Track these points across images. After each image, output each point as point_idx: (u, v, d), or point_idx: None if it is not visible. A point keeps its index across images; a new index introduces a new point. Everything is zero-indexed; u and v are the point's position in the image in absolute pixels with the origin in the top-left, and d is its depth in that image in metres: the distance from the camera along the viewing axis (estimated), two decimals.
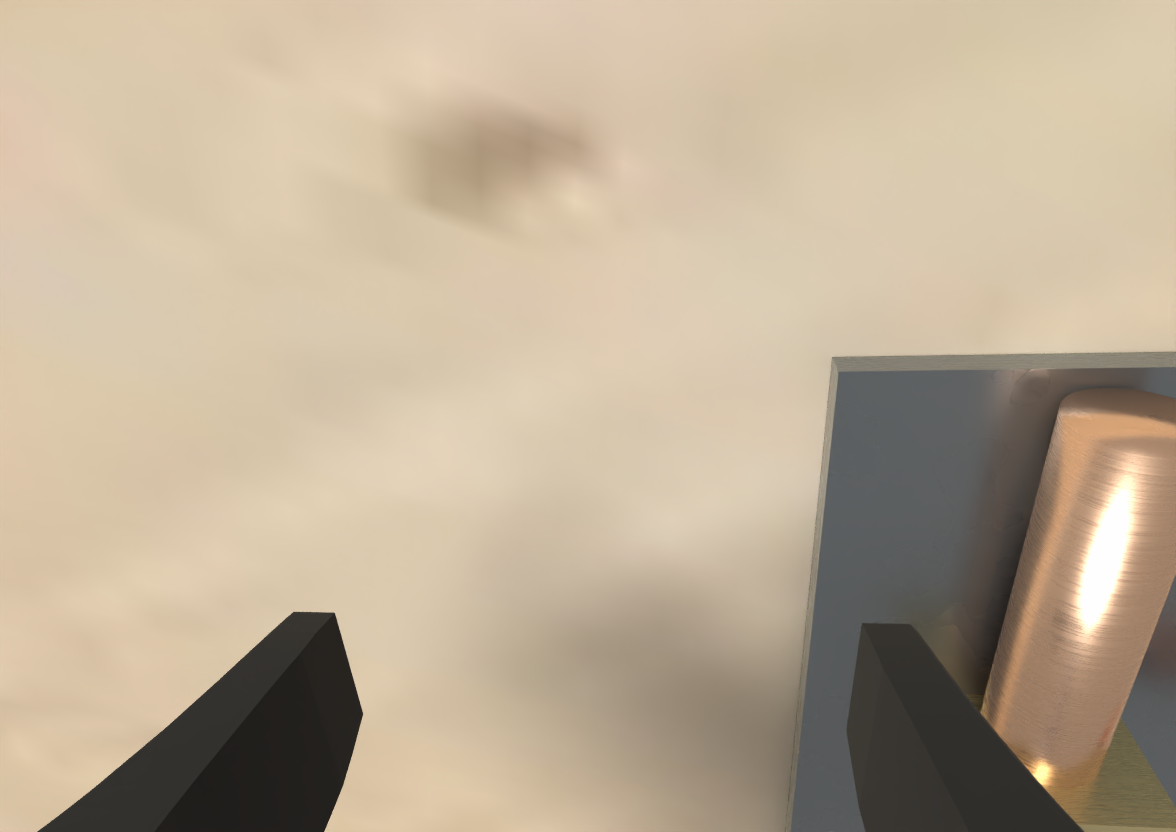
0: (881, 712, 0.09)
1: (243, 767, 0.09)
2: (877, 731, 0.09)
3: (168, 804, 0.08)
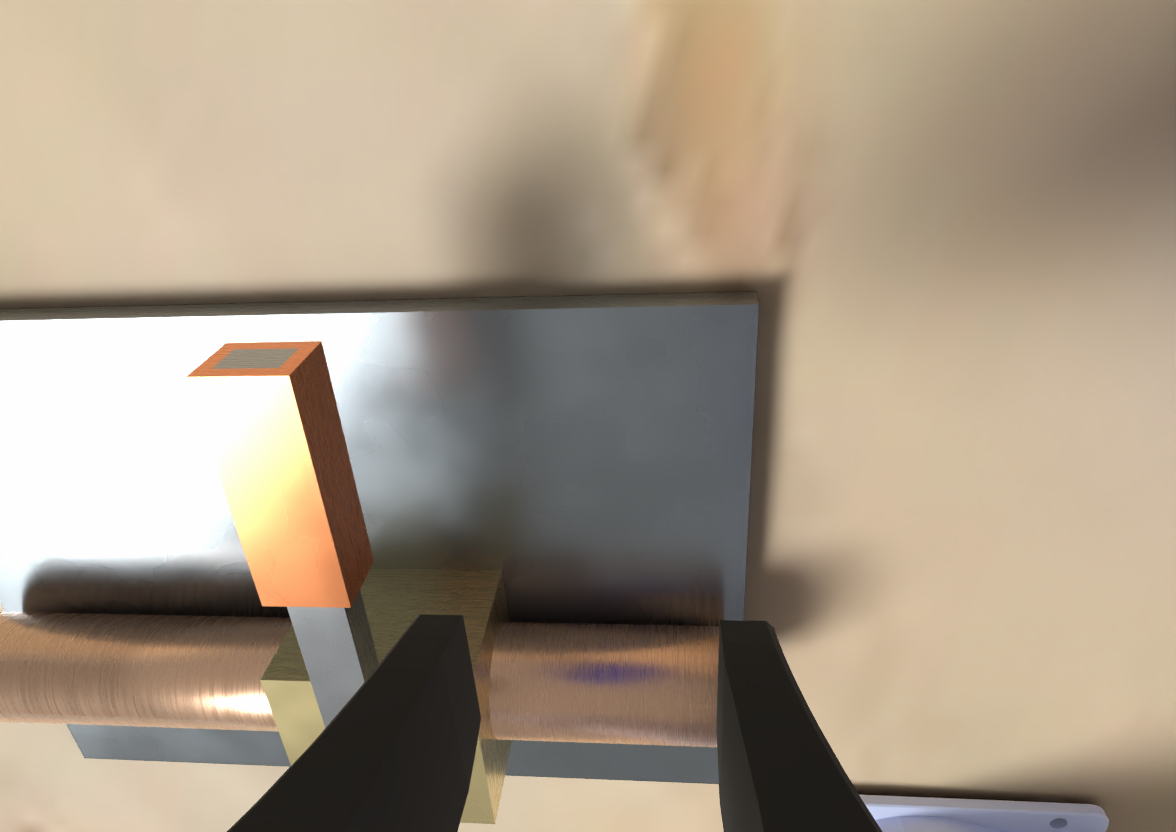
0: (725, 707, 0.09)
1: (401, 774, 0.09)
2: (724, 726, 0.10)
3: (346, 813, 0.08)
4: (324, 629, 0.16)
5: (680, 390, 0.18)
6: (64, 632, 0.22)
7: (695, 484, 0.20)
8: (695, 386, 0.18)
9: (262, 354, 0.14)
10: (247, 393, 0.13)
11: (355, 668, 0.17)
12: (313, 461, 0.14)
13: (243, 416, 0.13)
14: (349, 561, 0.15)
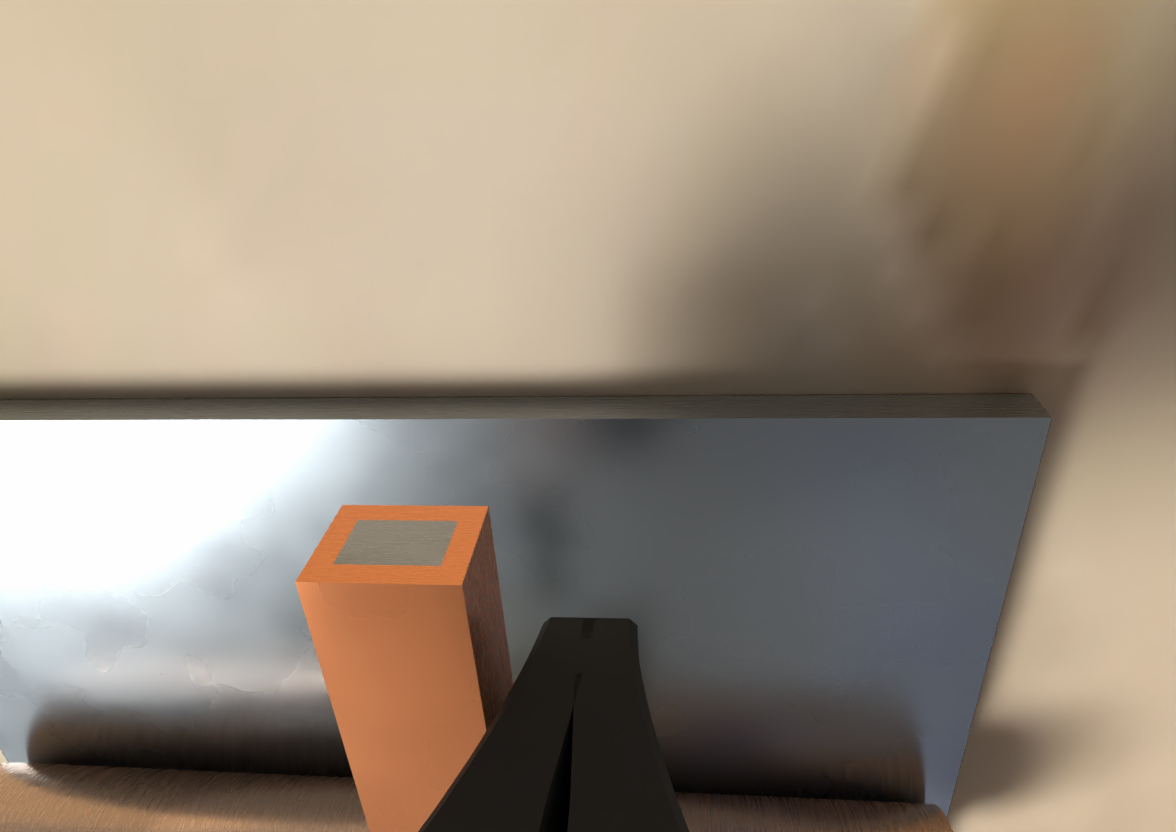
0: None
1: (564, 780, 0.08)
2: None
3: (532, 821, 0.07)
4: None
5: (919, 523, 0.14)
6: (82, 803, 0.17)
7: (919, 636, 0.15)
8: (941, 518, 0.14)
9: (406, 532, 0.09)
10: (392, 606, 0.08)
11: None
12: (482, 696, 0.09)
13: (380, 636, 0.09)
14: None
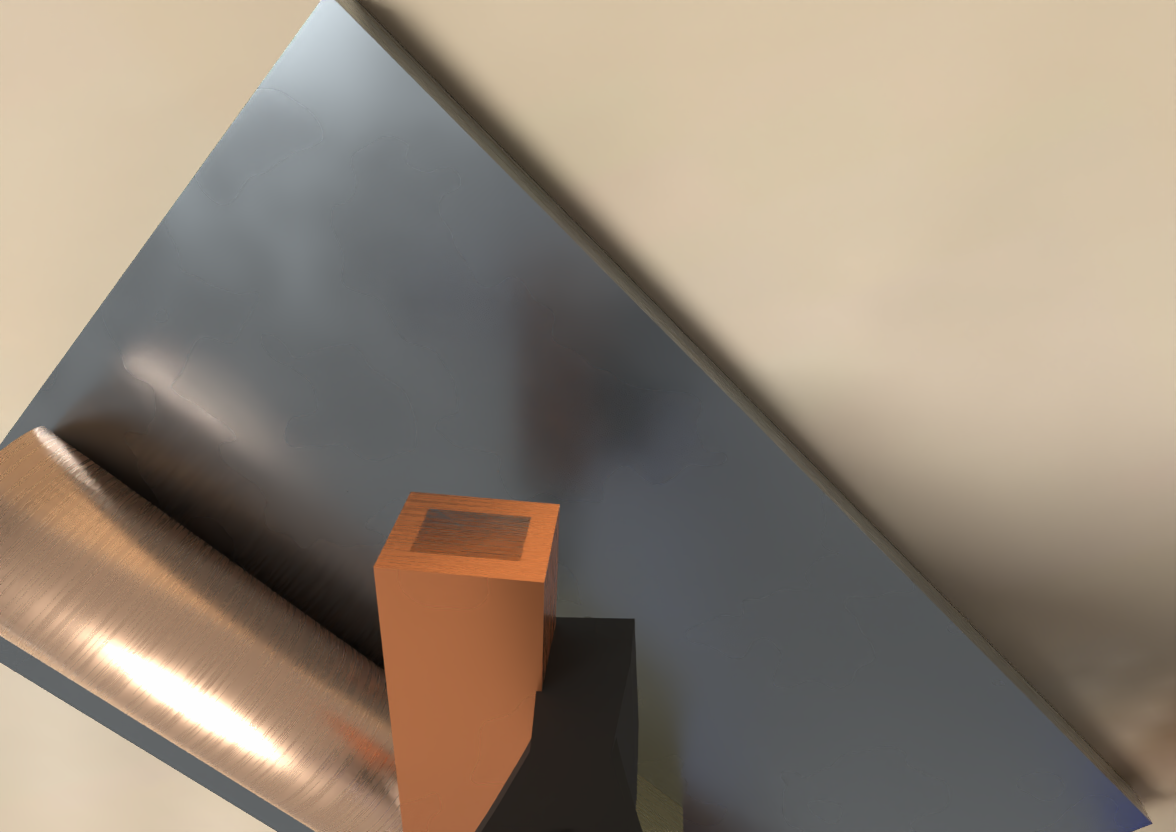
0: None
1: None
2: None
3: (588, 824, 0.07)
4: None
5: (1018, 821, 0.17)
6: (164, 560, 0.13)
7: None
8: (1032, 827, 0.17)
9: (478, 526, 0.09)
10: (468, 598, 0.08)
11: None
12: None
13: (451, 627, 0.09)
14: None
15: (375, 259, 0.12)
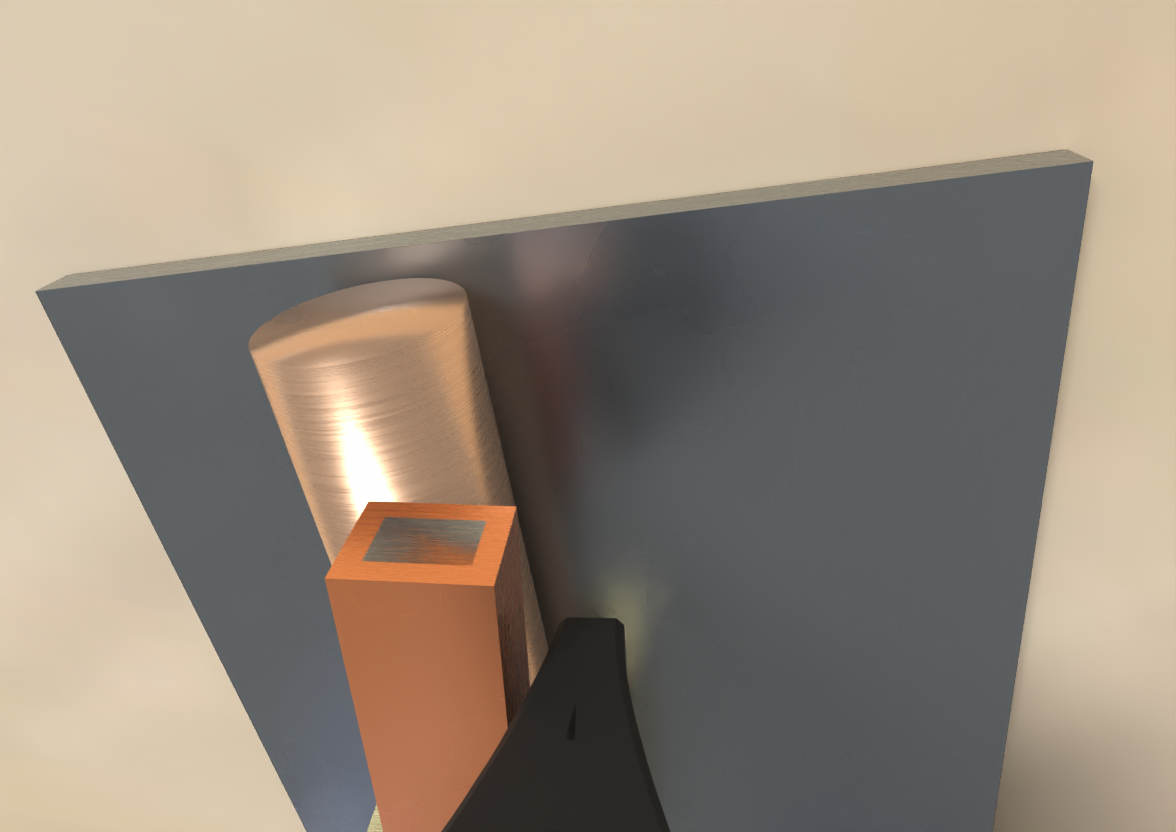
0: None
1: None
2: None
3: (555, 822, 0.07)
4: None
5: None
6: (504, 491, 0.12)
7: None
8: None
9: (434, 531, 0.09)
10: (421, 605, 0.08)
11: None
12: (506, 696, 0.09)
13: (408, 635, 0.09)
14: None
15: (895, 362, 0.12)
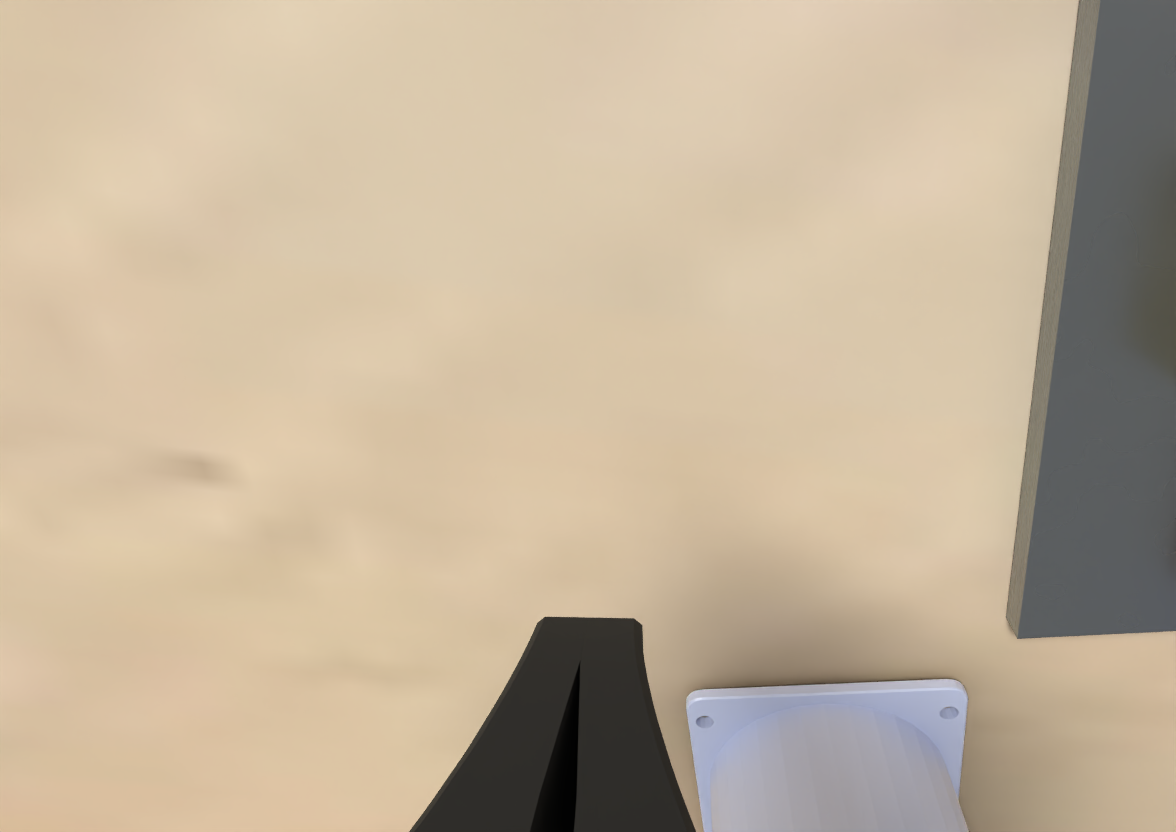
0: None
1: (557, 780, 0.08)
2: None
3: (523, 821, 0.07)
4: None
5: None
6: None
7: None
8: None
9: None
10: None
11: None
12: None
13: None
14: None
15: None
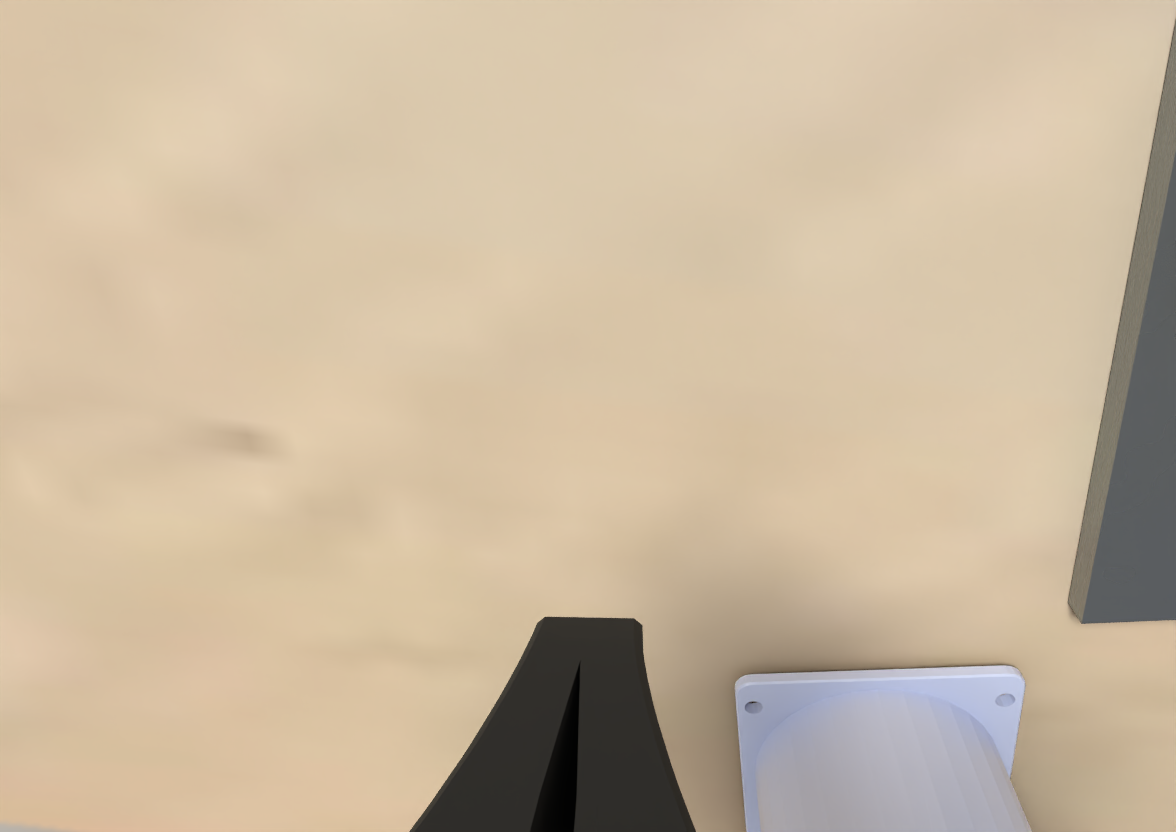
0: None
1: (557, 780, 0.08)
2: None
3: (524, 821, 0.07)
4: None
5: None
6: None
7: None
8: None
9: None
10: None
11: None
12: None
13: None
14: None
15: None
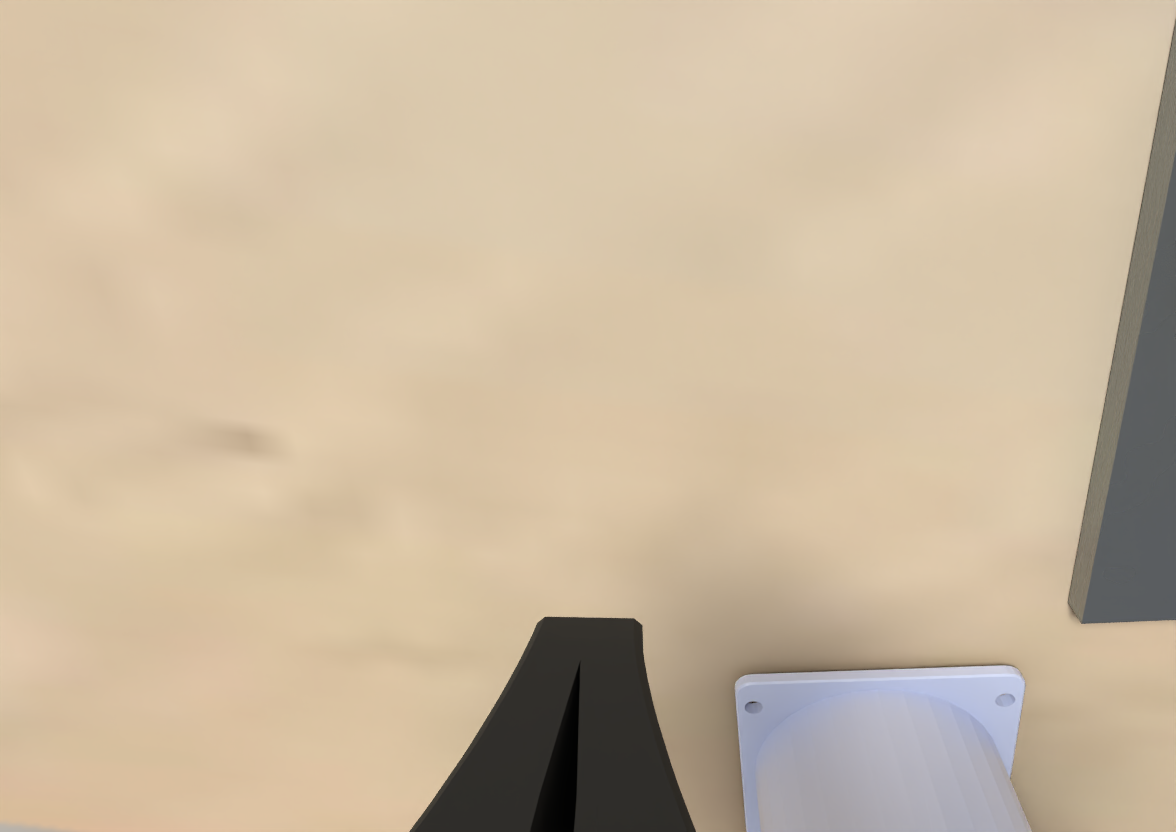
0: None
1: (557, 780, 0.08)
2: None
3: (524, 821, 0.07)
4: None
5: None
6: None
7: None
8: None
9: None
10: None
11: None
12: None
13: None
14: None
15: None
